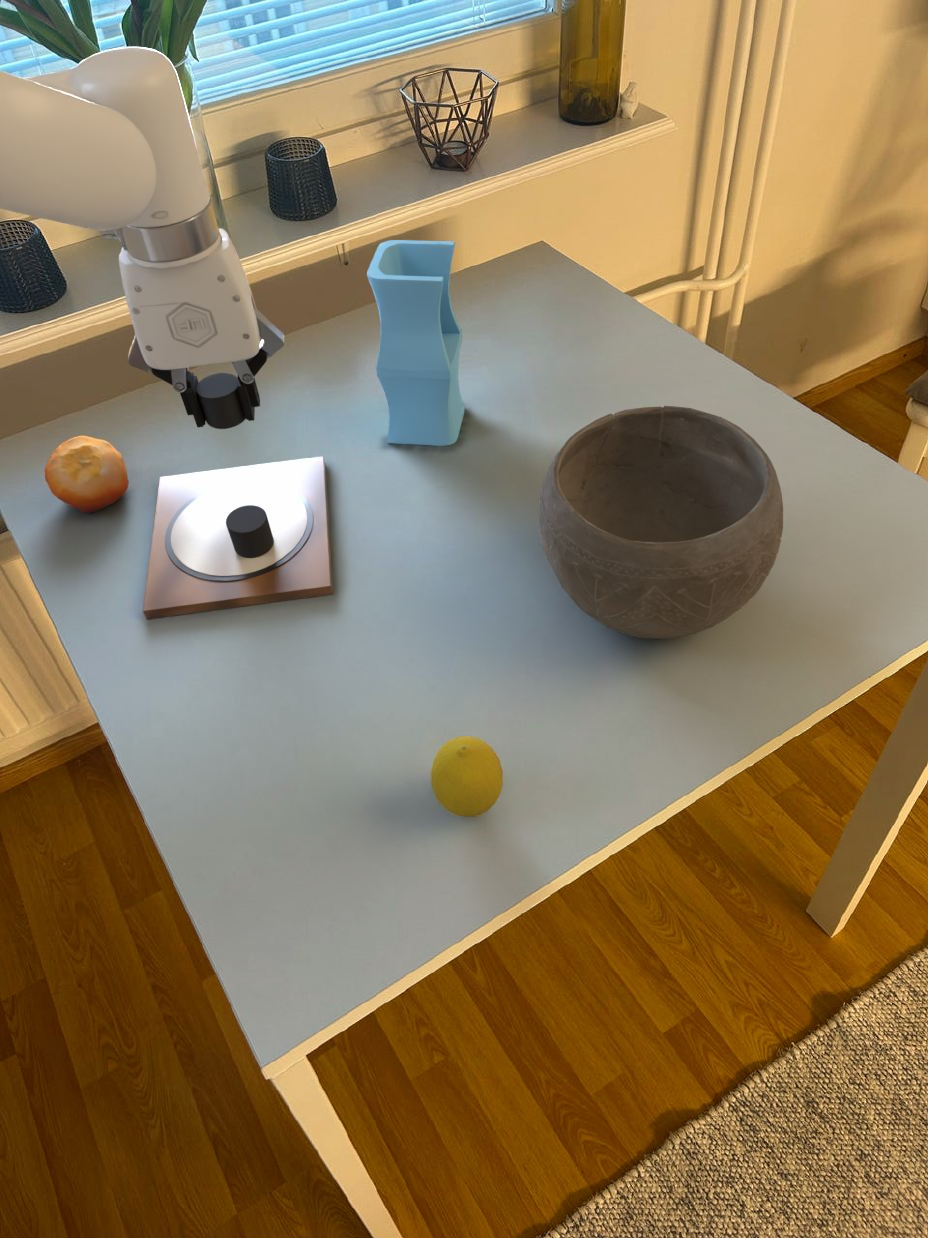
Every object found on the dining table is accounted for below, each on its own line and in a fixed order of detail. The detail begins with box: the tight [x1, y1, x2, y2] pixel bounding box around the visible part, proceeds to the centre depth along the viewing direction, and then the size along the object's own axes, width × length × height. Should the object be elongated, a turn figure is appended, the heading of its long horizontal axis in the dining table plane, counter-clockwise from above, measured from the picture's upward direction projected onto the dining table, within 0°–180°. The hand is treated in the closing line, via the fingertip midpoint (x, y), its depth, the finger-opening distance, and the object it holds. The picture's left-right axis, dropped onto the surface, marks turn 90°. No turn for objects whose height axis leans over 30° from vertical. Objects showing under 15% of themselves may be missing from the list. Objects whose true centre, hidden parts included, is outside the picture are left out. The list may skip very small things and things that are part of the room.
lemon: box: [430, 735, 504, 818], centre depth 72 cm, size 6×6×8 cm
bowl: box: [538, 405, 784, 640], centre depth 83 cm, size 21×21×15 cm
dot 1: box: [196, 372, 246, 430], centre depth 87 cm, size 4×4×4 cm
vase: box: [366, 239, 466, 447], centre depth 100 cm, size 8×8×20 cm
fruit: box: [44, 435, 130, 514], centre depth 100 cm, size 8×8×8 cm
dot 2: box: [226, 505, 274, 558], centre depth 93 cm, size 4×4×4 cm
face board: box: [142, 455, 333, 620], centre depth 96 cm, size 18×20×1 cm
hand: (226, 413), depth 88 cm, fingers closed on dot 1, 4 cm apart
